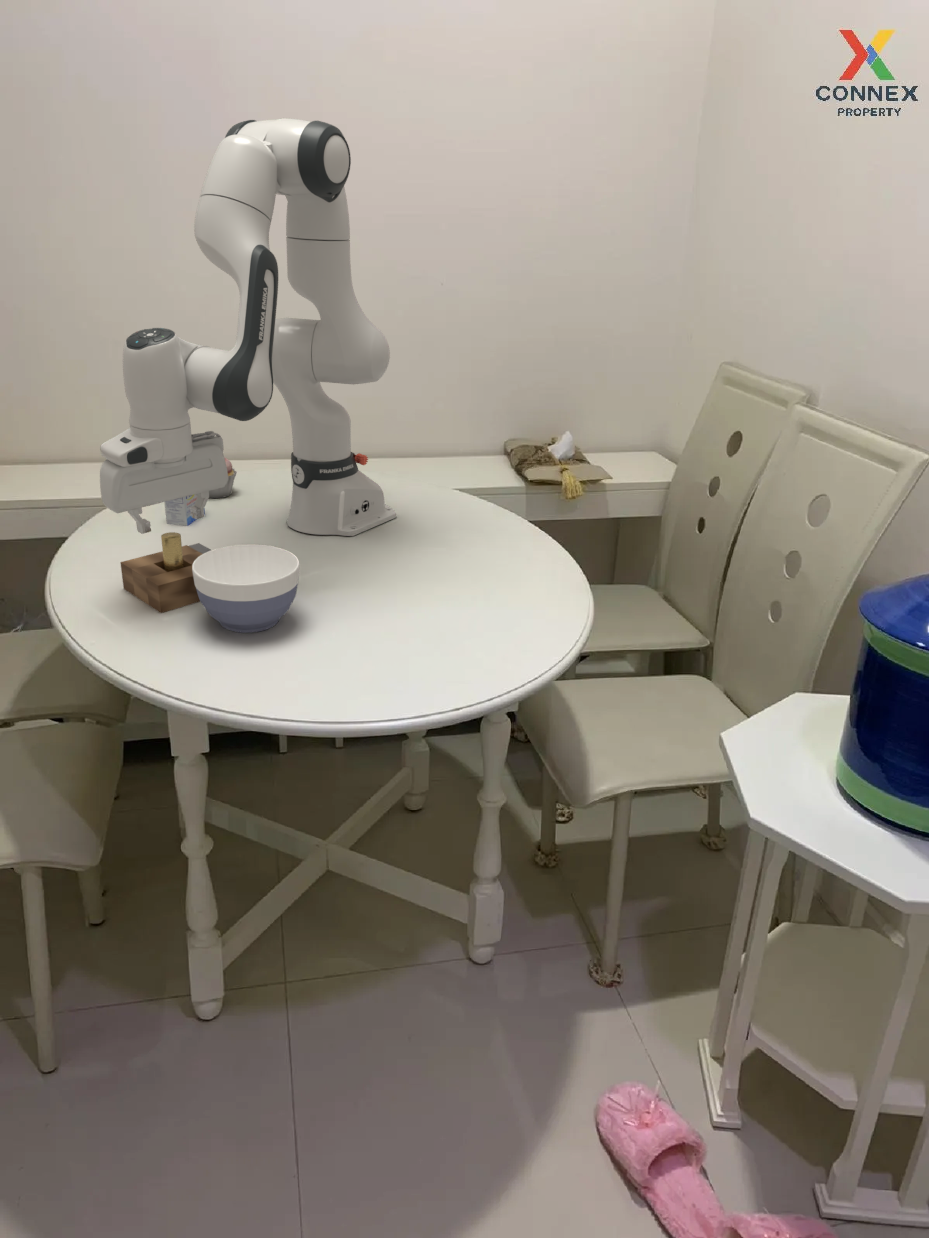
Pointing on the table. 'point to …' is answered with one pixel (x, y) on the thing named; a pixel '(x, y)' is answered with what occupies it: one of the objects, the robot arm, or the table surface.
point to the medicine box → (180, 510)
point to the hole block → (161, 580)
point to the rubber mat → (200, 548)
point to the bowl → (246, 585)
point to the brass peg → (172, 551)
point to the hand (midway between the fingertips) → (171, 524)
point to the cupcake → (228, 488)
